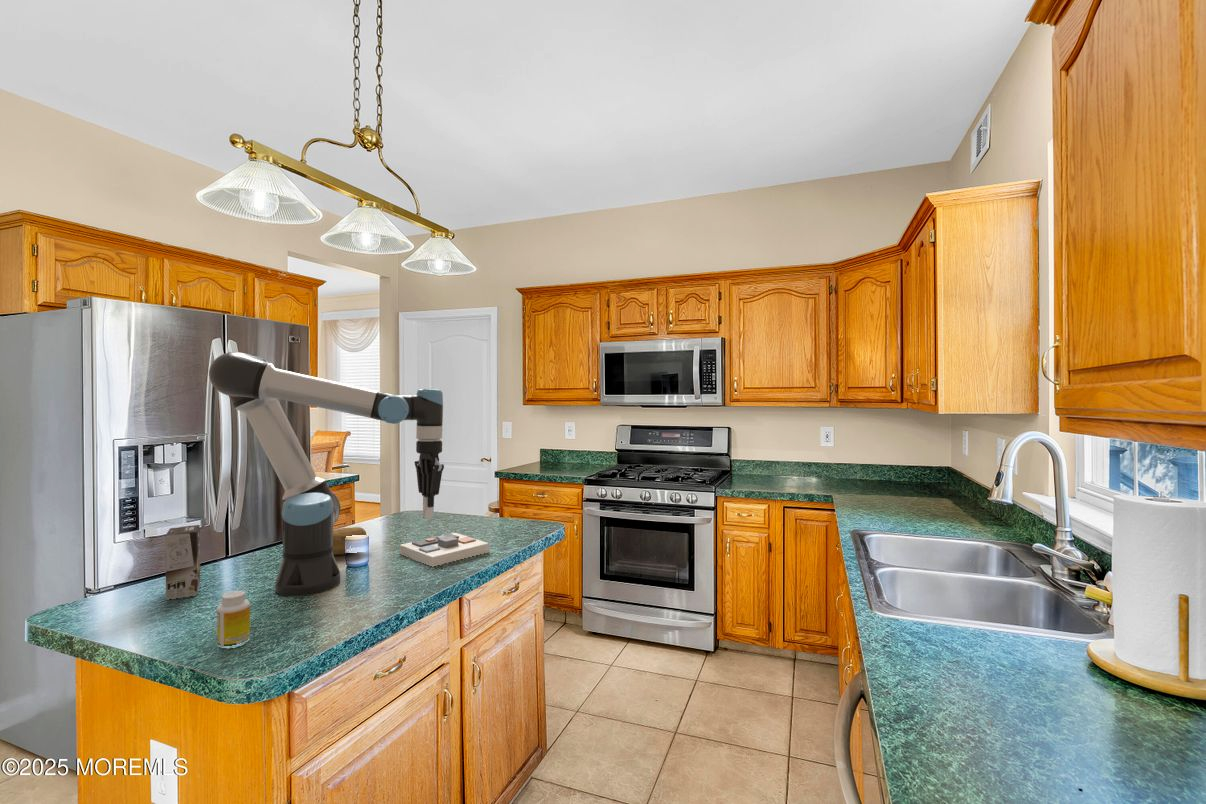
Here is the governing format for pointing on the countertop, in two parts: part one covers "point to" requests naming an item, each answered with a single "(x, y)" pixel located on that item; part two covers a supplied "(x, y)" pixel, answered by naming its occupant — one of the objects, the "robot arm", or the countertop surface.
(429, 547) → the key slate
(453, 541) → the key charcoal
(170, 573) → the coffee box
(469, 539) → the key terracotta
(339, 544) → the potato
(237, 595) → the supplement bottle
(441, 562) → the keypad
